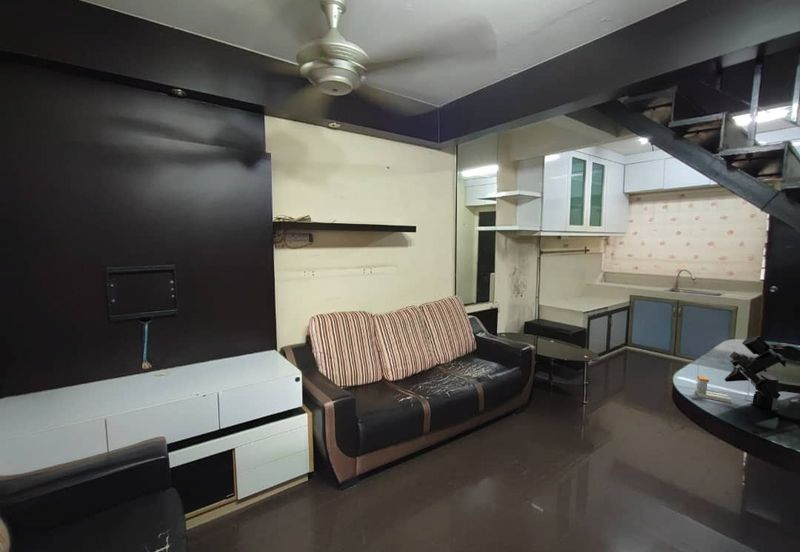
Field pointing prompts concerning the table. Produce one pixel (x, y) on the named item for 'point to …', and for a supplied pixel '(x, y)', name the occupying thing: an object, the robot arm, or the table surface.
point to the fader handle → (702, 383)
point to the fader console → (714, 396)
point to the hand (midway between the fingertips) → (725, 380)
